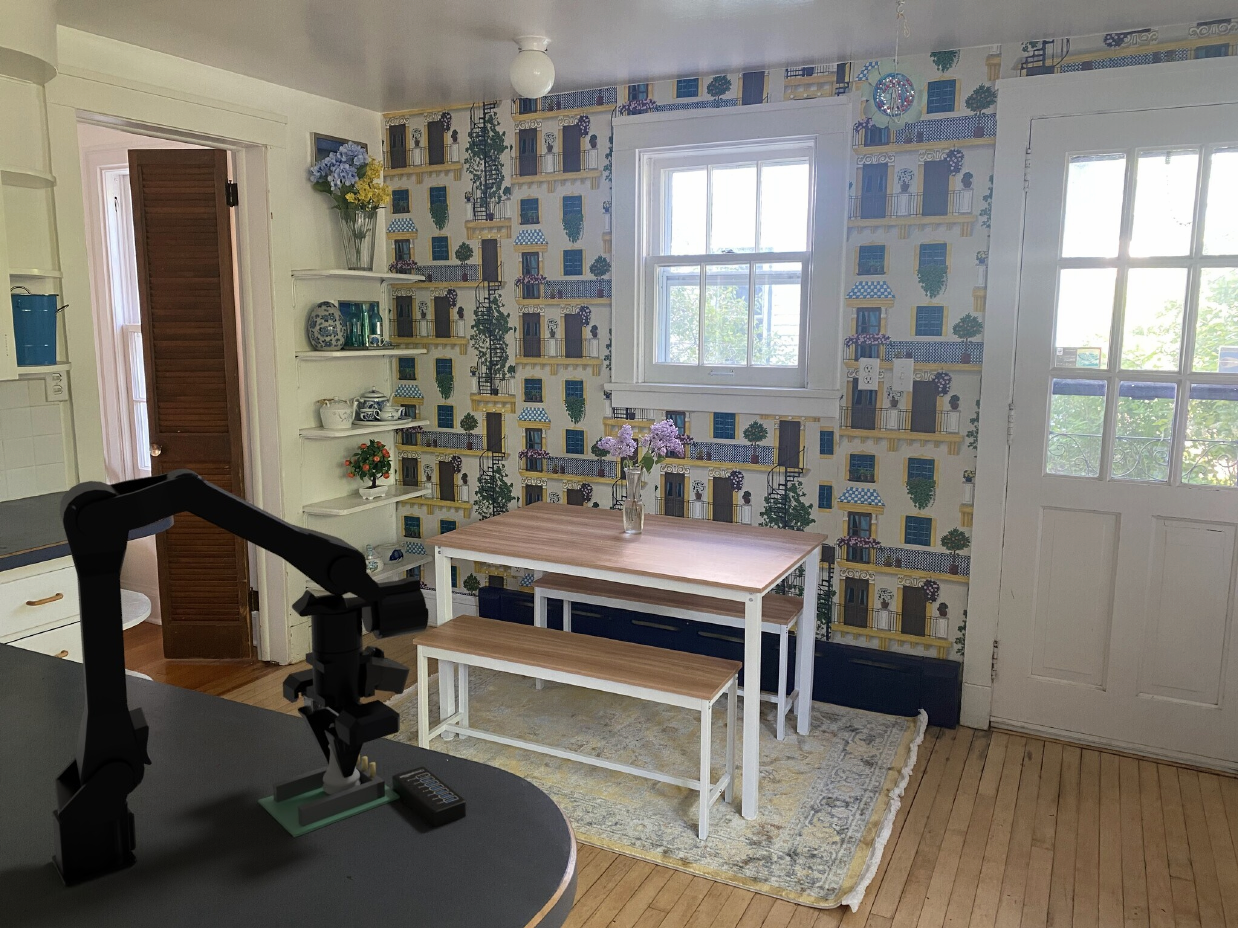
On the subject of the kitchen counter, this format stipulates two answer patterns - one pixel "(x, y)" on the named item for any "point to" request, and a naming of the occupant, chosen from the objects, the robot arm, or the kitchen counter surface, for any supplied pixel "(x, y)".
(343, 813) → the header socket
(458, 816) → the multiport hub
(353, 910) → the kitchen counter surface
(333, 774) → the rook chess piece
